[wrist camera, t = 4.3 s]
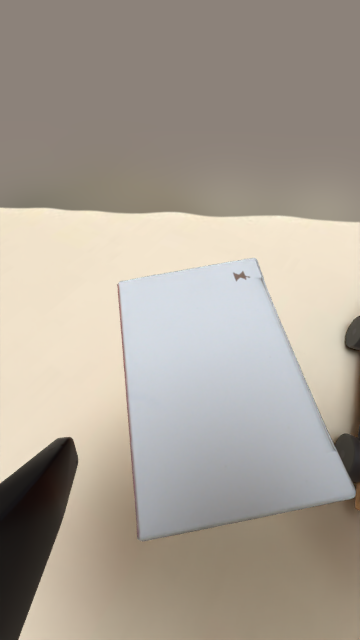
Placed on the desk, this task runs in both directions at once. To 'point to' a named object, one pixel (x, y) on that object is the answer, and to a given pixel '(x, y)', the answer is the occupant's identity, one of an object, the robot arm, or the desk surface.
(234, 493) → the small box
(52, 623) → the desk surface
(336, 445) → the cart
